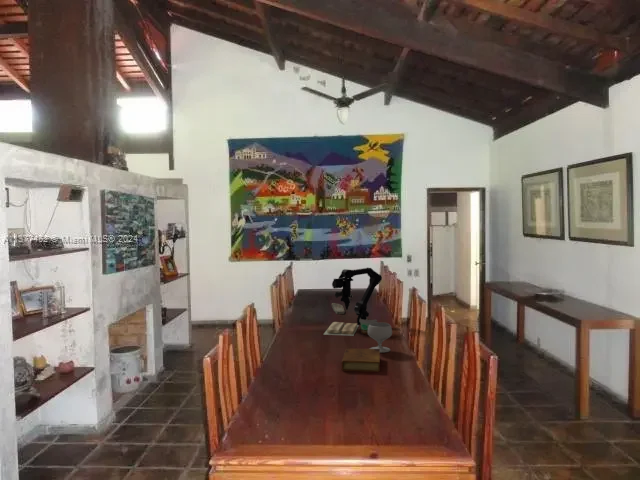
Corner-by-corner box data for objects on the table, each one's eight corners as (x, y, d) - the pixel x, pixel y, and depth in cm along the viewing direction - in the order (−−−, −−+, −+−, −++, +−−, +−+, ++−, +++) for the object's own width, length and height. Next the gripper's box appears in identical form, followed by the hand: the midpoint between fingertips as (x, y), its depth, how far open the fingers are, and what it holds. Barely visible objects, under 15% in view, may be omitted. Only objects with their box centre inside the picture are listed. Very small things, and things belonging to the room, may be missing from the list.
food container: (356, 334, 311) (356, 319, 311) (360, 332, 317) (359, 317, 316) (374, 336, 305) (373, 320, 305) (377, 334, 311) (377, 319, 310)
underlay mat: (358, 325, 336) (358, 325, 336) (353, 336, 307) (353, 335, 307) (331, 325, 340) (331, 324, 340) (323, 335, 311) (323, 334, 311)
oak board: (357, 326, 333) (357, 323, 333) (352, 334, 310) (352, 331, 310) (346, 325, 335) (346, 323, 335) (341, 333, 311) (341, 330, 311)
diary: (345, 358, 259) (345, 348, 259) (379, 359, 257) (379, 349, 257) (341, 371, 237) (341, 360, 237) (379, 372, 234) (379, 361, 234)
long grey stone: (334, 316, 377) (346, 317, 378) (334, 310, 377) (347, 310, 377) (330, 306, 412) (341, 306, 413) (330, 300, 411) (341, 300, 412)
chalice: (393, 347, 277) (393, 322, 277) (390, 354, 264) (390, 327, 263) (369, 346, 281) (369, 321, 281) (365, 352, 268) (365, 326, 267)
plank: (344, 325, 335) (344, 322, 335) (339, 333, 312) (339, 330, 311) (333, 324, 337) (333, 321, 336) (327, 332, 313) (327, 329, 313)
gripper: (337, 285, 344) (337, 306, 345) (333, 289, 326) (333, 311, 327) (352, 285, 342) (352, 307, 343) (349, 289, 324) (349, 312, 324)
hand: (346, 309), depth 334 cm, fingers closed
